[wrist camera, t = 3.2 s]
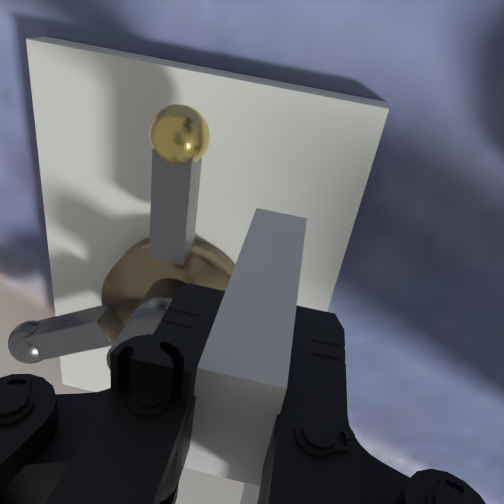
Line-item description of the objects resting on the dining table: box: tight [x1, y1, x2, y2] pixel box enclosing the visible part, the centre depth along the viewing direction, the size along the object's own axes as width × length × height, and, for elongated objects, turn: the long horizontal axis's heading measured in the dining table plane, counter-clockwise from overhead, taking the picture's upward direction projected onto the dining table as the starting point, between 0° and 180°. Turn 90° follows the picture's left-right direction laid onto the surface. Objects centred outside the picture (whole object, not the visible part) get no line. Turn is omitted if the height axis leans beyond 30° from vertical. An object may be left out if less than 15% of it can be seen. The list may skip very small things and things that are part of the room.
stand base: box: [26, 36, 389, 504], centre depth 21 cm, size 22×16×11 cm
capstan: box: [8, 104, 235, 369], centre depth 20 cm, size 16×18×6 cm
